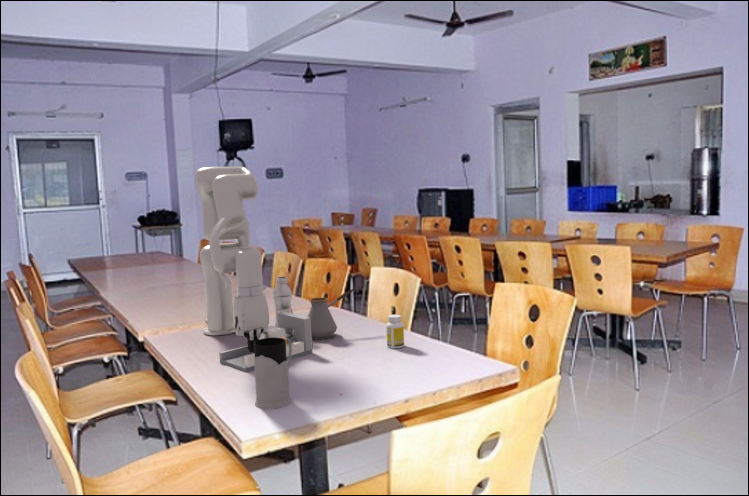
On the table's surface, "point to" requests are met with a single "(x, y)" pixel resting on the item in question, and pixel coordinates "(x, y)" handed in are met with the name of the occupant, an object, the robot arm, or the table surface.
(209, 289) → the robot arm
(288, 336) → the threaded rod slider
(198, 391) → the table surface
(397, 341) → the supplement bottle
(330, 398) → the table surface
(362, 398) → the table surface
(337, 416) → the table surface
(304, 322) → the track
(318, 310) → the coffee pot
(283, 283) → the plastic bottle
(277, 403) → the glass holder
